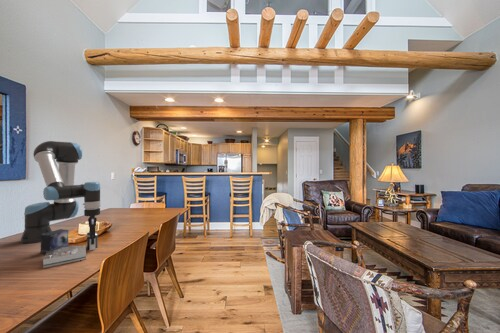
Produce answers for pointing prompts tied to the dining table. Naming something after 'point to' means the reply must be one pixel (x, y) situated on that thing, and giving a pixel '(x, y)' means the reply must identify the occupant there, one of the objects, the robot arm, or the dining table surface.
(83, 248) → the grey piece
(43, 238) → the small box
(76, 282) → the dining table surface
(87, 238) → the lens
